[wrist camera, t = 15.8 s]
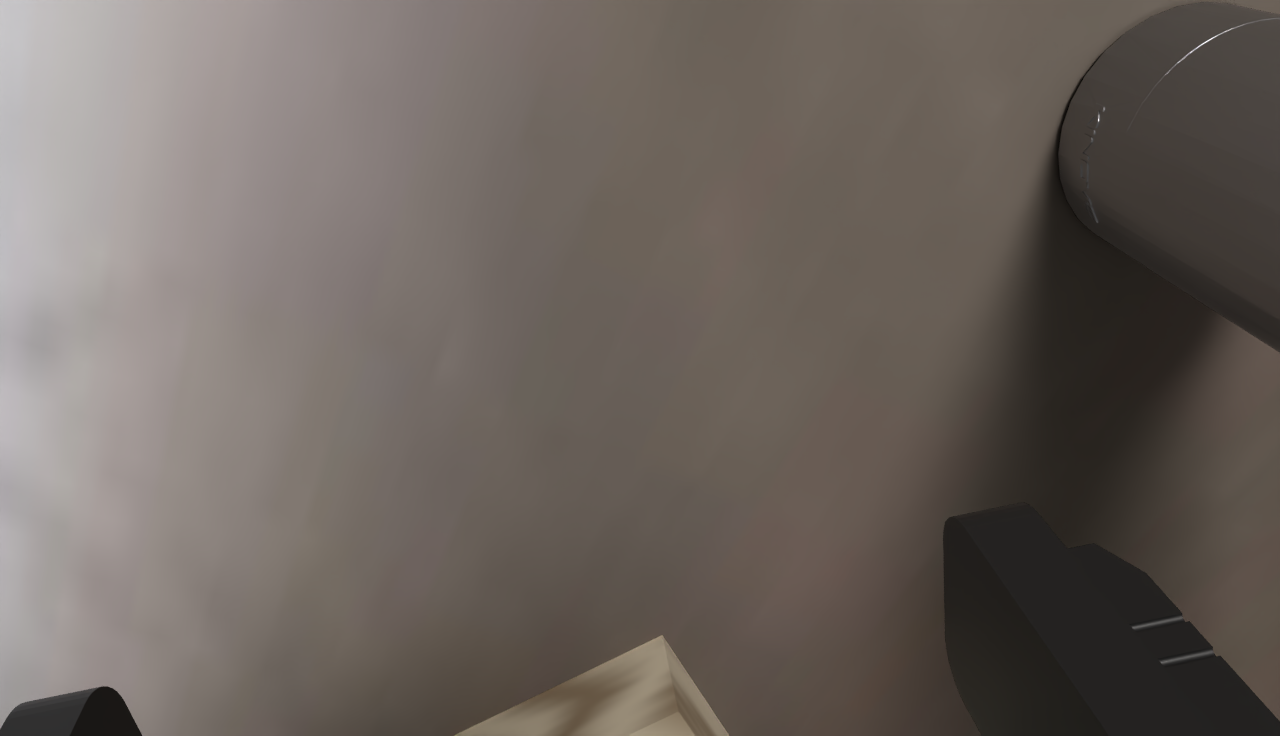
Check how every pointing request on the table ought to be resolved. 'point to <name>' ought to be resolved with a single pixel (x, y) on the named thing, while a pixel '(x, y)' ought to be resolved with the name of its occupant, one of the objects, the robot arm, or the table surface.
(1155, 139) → the robot arm
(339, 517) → the table surface
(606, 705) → the maple block
